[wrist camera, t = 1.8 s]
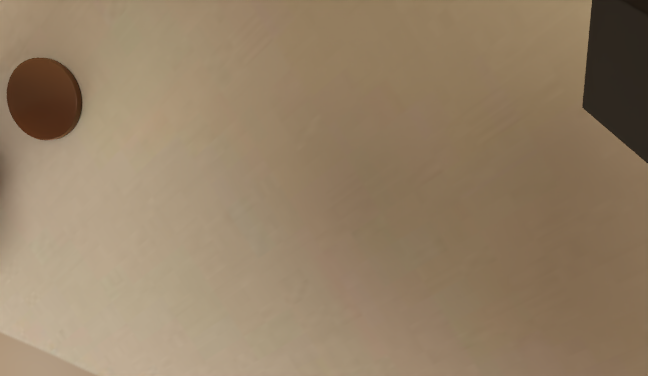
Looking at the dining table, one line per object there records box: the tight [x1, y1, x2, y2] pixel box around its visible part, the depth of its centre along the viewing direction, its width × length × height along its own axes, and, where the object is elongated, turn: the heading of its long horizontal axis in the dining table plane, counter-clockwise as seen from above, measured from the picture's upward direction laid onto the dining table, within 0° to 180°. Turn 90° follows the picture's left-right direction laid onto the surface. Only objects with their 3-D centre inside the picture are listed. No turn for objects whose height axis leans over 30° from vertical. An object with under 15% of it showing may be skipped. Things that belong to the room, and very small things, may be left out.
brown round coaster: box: [7, 58, 82, 140], centre depth 39 cm, size 5×5×1 cm
